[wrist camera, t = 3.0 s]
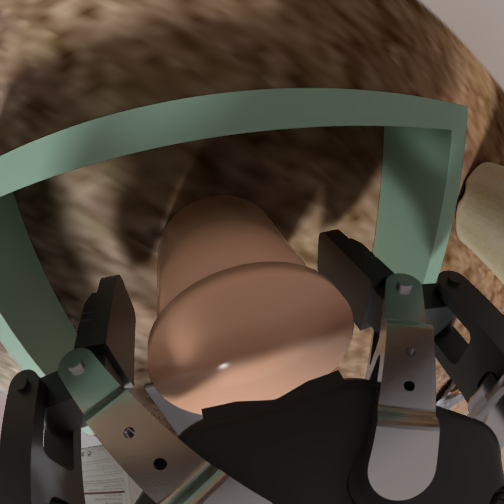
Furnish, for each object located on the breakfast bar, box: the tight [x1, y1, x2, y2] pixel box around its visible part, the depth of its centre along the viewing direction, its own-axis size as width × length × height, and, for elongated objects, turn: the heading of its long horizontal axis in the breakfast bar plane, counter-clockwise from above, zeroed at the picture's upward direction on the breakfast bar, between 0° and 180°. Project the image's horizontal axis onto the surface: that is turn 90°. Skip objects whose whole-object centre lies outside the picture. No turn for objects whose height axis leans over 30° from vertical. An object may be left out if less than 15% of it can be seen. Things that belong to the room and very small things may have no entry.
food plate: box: [436, 381, 464, 409], centre depth 36 cm, size 25×23×4 cm
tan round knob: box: [148, 195, 354, 415], centre depth 10 cm, size 6×6×6 cm
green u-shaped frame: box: [0, 88, 468, 435], centre depth 11 cm, size 18×13×4 cm
